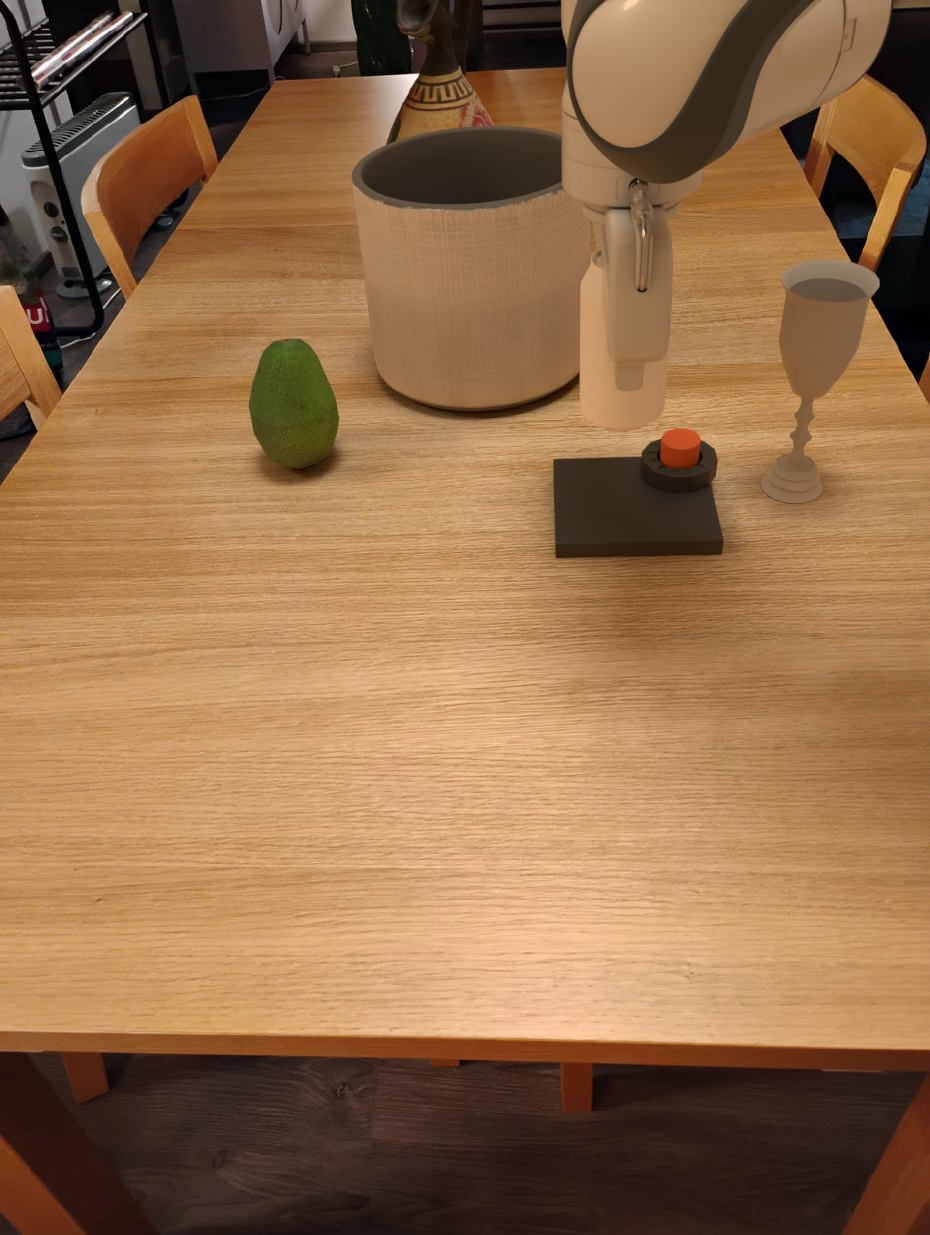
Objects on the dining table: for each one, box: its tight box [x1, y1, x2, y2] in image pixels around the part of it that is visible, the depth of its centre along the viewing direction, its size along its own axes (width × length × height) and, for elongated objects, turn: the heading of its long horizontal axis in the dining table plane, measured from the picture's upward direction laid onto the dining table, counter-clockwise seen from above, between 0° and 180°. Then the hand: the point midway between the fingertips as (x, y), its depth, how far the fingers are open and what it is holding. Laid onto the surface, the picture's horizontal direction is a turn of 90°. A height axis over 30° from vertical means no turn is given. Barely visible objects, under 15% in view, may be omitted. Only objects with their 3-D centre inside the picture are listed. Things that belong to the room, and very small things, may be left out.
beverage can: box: [579, 249, 675, 432], centre depth 70 cm, size 6×6×12 cm
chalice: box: [760, 258, 880, 504], centre depth 78 cm, size 7×7×18 cm
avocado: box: [248, 338, 340, 470], centre depth 88 cm, size 8×8×12 cm
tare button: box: [660, 428, 702, 469], centre depth 83 cm, size 3×3×2 cm
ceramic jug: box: [385, 0, 495, 145], centre depth 117 cm, size 17×15×30 cm
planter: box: [351, 125, 592, 413], centre depth 96 cm, size 22×22×20 cm
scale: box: [552, 438, 725, 558], centre depth 82 cm, size 14×12×3 cm
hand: (624, 358), depth 71 cm, fingers closed on beverage can, 6 cm apart
